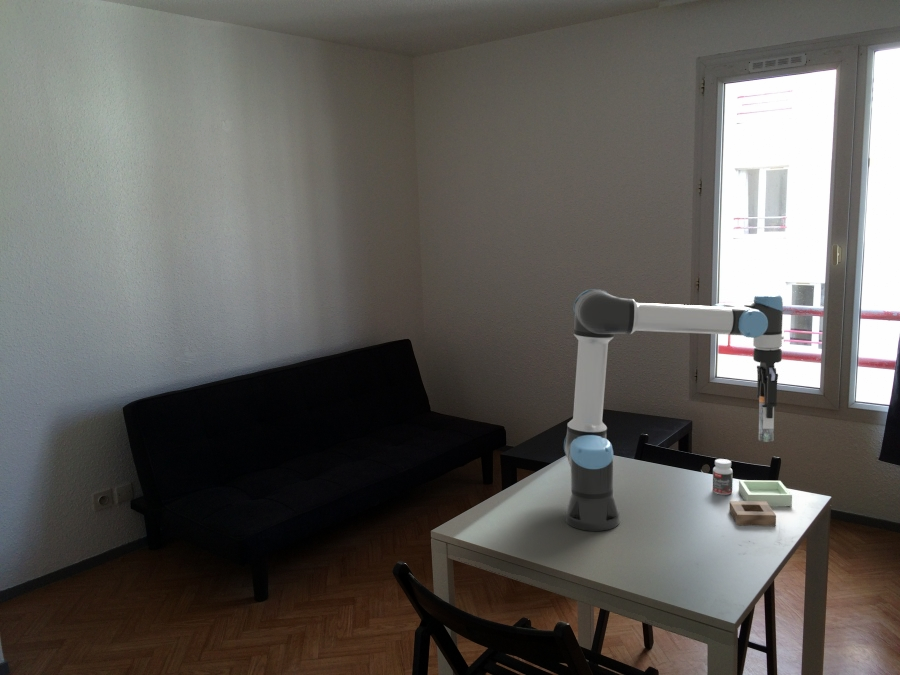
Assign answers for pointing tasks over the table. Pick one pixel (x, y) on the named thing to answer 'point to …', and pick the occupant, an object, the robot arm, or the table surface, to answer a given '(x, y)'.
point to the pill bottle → (722, 477)
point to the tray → (765, 492)
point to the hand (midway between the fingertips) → (766, 425)
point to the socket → (752, 513)
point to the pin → (764, 434)
